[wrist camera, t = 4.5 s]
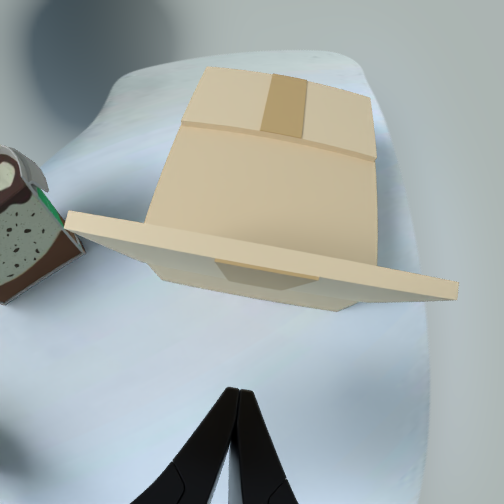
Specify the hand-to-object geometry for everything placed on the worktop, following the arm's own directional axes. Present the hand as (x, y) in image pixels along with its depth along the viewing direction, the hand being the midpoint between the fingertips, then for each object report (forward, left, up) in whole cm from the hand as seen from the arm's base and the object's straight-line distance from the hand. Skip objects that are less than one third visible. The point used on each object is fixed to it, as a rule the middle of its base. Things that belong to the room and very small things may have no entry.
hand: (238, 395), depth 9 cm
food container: (+12, +15, -10) cm, 21 cm away
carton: (+11, -5, -10) cm, 15 cm away
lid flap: (+4, -2, 0) cm, 4 cm away
